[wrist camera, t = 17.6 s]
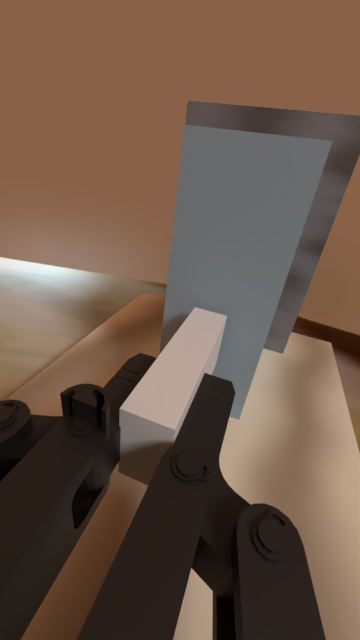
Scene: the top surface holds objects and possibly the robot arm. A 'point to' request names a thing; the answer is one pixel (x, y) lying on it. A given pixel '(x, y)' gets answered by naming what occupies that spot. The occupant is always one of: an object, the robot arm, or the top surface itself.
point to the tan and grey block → (241, 435)
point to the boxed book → (238, 236)
